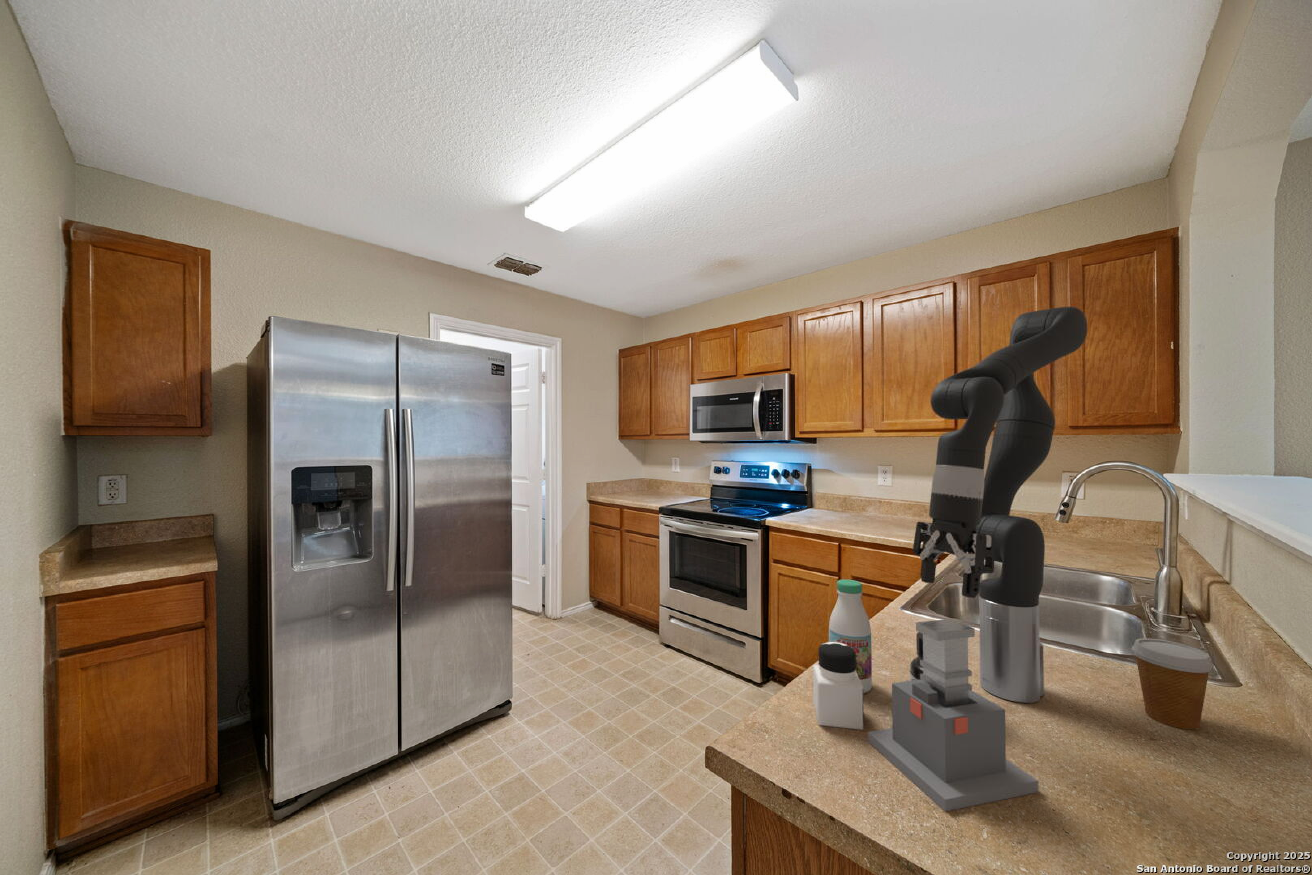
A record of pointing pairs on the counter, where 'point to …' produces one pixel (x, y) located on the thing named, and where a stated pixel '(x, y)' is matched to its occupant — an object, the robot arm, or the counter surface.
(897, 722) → the stand base
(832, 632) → the milk bottle
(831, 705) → the medicine bottle
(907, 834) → the counter surface
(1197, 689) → the disposable coffee cup
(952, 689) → the column
